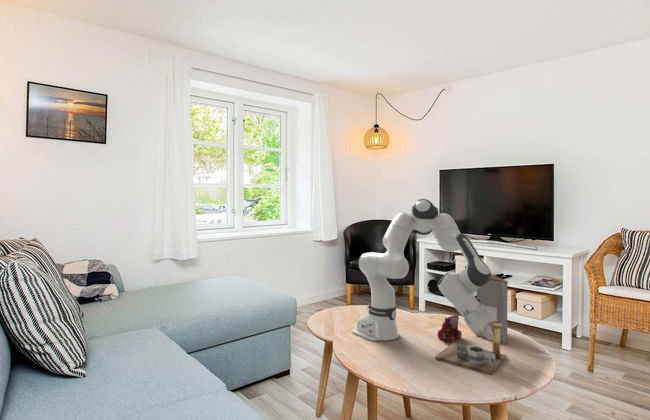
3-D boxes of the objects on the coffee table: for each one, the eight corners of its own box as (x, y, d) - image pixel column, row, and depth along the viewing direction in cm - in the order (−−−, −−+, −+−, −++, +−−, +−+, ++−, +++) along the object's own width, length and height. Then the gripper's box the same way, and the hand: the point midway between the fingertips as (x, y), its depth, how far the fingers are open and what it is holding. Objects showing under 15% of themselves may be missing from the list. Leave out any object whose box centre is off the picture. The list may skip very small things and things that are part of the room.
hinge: (454, 359, 156) (454, 347, 155) (460, 354, 160) (460, 342, 160) (492, 369, 146) (492, 356, 146) (497, 364, 151) (497, 351, 151)
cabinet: (507, 344, 173) (507, 281, 172) (485, 344, 173) (485, 281, 172) (487, 328, 194) (487, 271, 193) (467, 328, 194) (467, 272, 193)
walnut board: (435, 359, 159) (435, 356, 159) (453, 345, 173) (453, 342, 173) (491, 375, 145) (491, 371, 145) (506, 358, 159) (506, 355, 159)
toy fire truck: (434, 340, 180) (434, 317, 179) (450, 333, 187) (450, 312, 187) (447, 344, 174) (447, 321, 174) (463, 337, 182) (463, 315, 182)
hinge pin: (489, 357, 157) (489, 323, 156) (492, 354, 160) (492, 320, 159) (500, 360, 154) (500, 325, 154) (503, 357, 157) (503, 322, 157)
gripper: (467, 309, 153) (494, 339, 148) (480, 297, 170) (505, 323, 165) (456, 319, 156) (481, 348, 150) (469, 306, 172) (493, 332, 167)
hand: (494, 335), depth 158 cm, fingers open, 8 cm apart
